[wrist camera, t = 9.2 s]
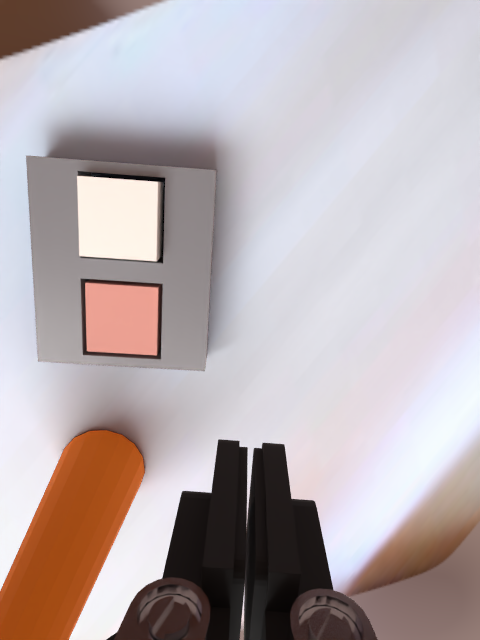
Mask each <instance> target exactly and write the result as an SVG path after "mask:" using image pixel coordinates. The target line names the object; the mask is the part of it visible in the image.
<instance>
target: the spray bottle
mask: <svg viewBox="0 0 480 640" xmlns="http://www.w3.org/2000/svg"><path fill="white" fill-rule="evenodd" d="M144 473H145V470H144V462H143V457H142V455H141V454H140V452H139V450H138V449H137V447H136V445H135V444H134V443H132V442H131V441H130V440H128V439H127V438H126V437H124V436H123V435H121V434H118V433H114V432H111V431H108V430H97V431H88V432H86V433H84V434H82V435H79V436H77V437H75V438H74V439H73V440H72V441H71V442H70V443H69V444H68V445H67V446H66V447H65V448H64V450H63V453H62V455H61V457H60V459H59V461H58V464H57V466H56V468H55V470H54V473H53V475H52V477H51V479H50V482H49V484H48V486H47V488H46V490H45V493H44V495H43V497H42V499H41V502H40V504H39V506H38V508H37V511H36V513H35V515H34V517H33V519H32V522H31V524H30V526H29V528H28V531H27V533H26V535H25V537H24V540H23V542H22V544H21V546H20V548H19V551H18V553H17V555H16V557H15V560H14V562H13V564H12V566H11V569H10V571H9V573H8V575H7V578H6V580H5V582H4V584H3V586H2V589H1V591H0V640H69V638H70V636H71V633H72V631H73V629H74V627H75V625H76V623H77V621H78V618H79V616H80V614H81V612H82V610H83V608H84V605H85V603H86V601H87V599H88V597H89V595H90V593H91V590H92V588H93V586H94V584H95V582H96V580H97V577H98V575H99V573H100V571H101V569H102V567H103V564H104V562H105V560H106V558H107V556H108V554H109V552H110V549H111V547H112V545H113V543H114V541H115V539H116V536H117V534H118V532H119V530H120V528H121V526H122V524H123V521H124V519H125V517H126V515H127V513H128V511H129V508H130V506H131V504H132V502H133V500H134V498H135V496H136V493H137V491H138V489H139V487H140V484H141V482H142V479H143V476H144Z"/></svg>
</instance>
